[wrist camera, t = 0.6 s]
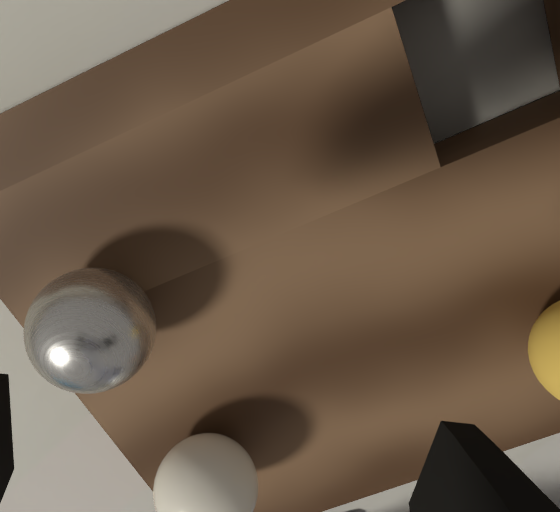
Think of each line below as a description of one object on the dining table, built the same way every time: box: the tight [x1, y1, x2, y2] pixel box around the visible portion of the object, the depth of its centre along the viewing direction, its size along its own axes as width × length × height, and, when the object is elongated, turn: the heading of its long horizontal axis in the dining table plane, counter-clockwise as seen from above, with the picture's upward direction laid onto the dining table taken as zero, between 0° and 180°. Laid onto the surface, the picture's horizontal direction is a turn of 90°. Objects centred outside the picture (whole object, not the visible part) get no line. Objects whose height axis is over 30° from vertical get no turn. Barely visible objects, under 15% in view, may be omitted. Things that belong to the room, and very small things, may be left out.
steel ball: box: [24, 268, 156, 394], centre depth 15 cm, size 4×4×4 cm
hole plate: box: [0, 0, 560, 512], centre depth 17 cm, size 18×24×2 cm
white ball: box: [153, 433, 258, 512], centre depth 18 cm, size 4×4×4 cm
